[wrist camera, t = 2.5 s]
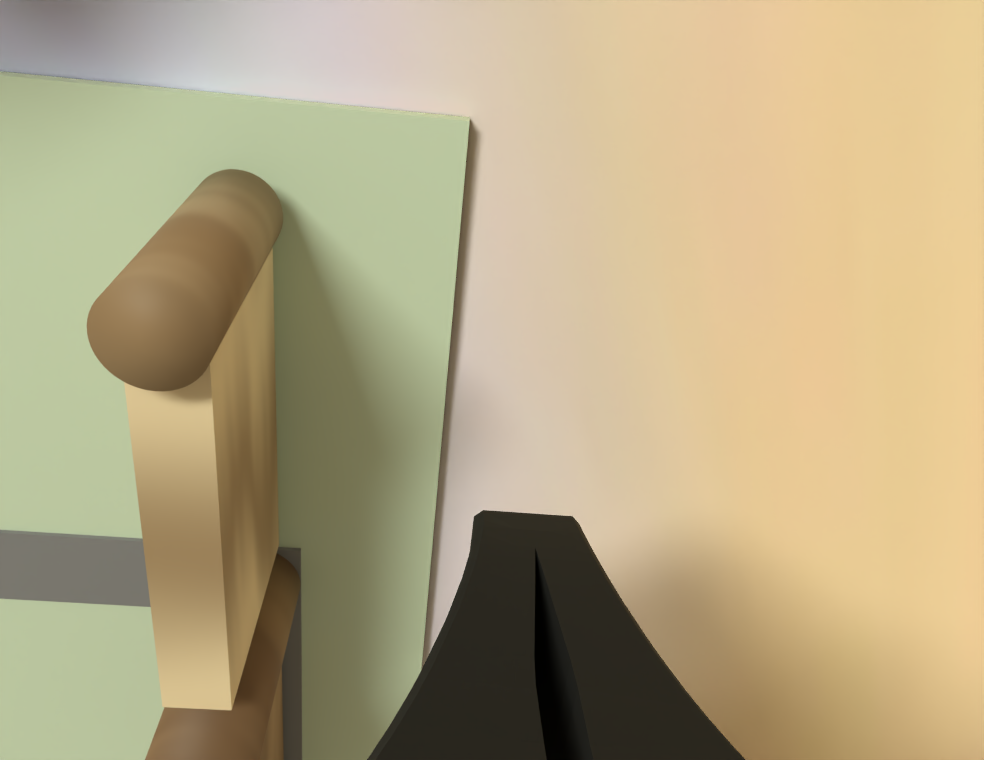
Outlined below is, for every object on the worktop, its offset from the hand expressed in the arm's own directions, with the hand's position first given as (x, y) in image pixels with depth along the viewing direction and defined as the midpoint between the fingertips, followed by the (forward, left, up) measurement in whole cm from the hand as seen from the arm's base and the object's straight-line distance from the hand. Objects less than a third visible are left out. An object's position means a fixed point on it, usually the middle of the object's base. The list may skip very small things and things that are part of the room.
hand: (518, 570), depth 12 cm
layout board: (-8, -7, -7) cm, 12 cm away
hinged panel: (-5, -1, -6) cm, 8 cm away
